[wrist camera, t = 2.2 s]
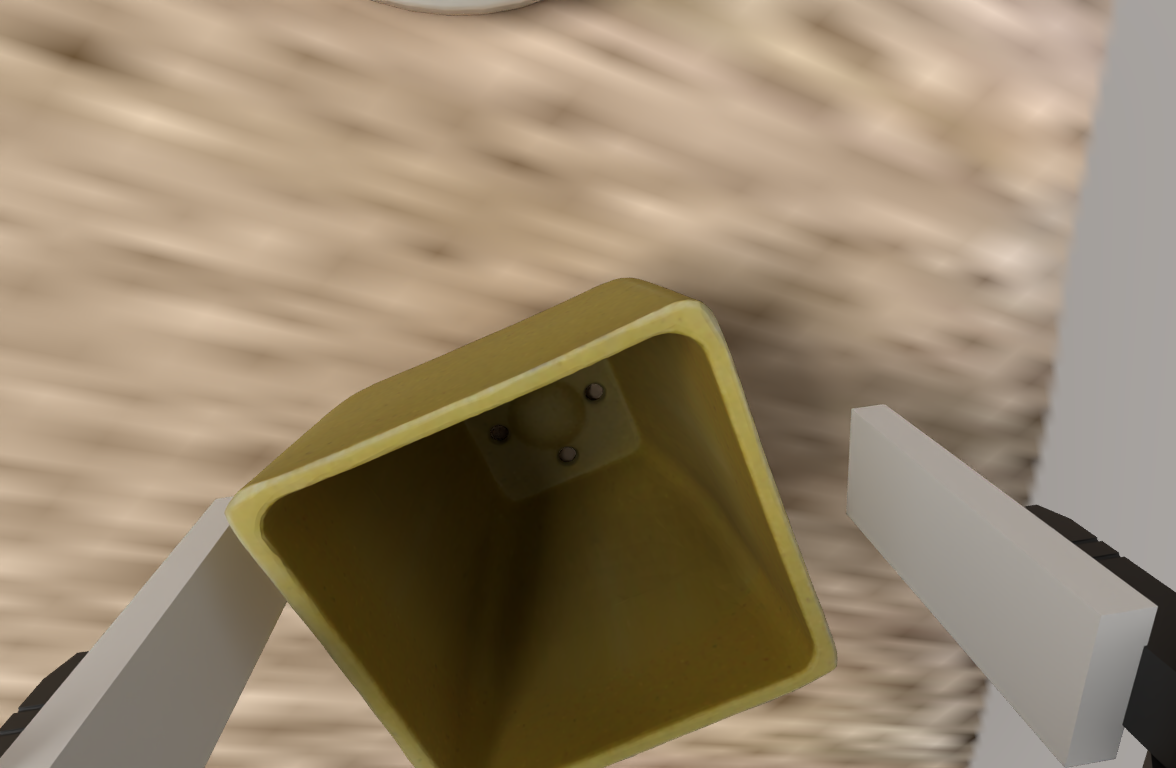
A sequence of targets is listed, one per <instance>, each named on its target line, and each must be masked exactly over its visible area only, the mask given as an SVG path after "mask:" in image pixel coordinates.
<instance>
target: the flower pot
mask: <svg viewBox="0 0 1176 768" xmlns="http://www.w3.org/2000/svg"><path fill="white" fill-rule="evenodd" d="M591 384H598V385H600V386H601V387H602V389H603V394H602V396H601V397H600V398H599V399H597V400H595V401H594V400H590V399H588V398H587V397H586V395H585V390H586V388H587V387H588V386H589V385H591ZM496 425H502V426H504V427H506V428H507V429H508V432H509V433H508V436H507V437H506V438H505V439H504V440H495V439H494V438H492V436H491V434H490V430H491V429H492V427H494V426H496ZM565 447H571V448H573V449H574V450H575V451H576V456H575V458H574V459H573V460H572V461H570V462H564V461H562V460H560V458H559V452H560V451H561V449H563V448H565ZM224 514H225V516H226V519H227V521H228V523H229V525H230V526H231V528H232V530H233V531H234V533H235V534H236V536H237V537H238V539H239V540H240V542H241V543H242V544H243V546H244V547H245V548H246V549H247V550H248V552H249V553H250V554H251V556H252V557H253V558H254V560H255V561H256V562H257V563H258V565H259V566H260V567H261V568H262V569H263V571H264V572H265V573H266V574H267V576H268V577H269V578H270V579H271V581H272V582H273V583H274V585H275V586H276V587H277V588H278V590H279V591H280V592H281V594H282V595H283V596H284V598H285V599H286V601H287V602H288V603H289V604H290V606H291V607H292V608H293V609H294V611H295V612H296V613H297V614H298V615H299V617H300V618H301V619H302V620H303V621H304V623H305V624H306V625H307V626H308V627H309V629H310V630H311V631H312V632H313V634H314V635H315V636H316V637H317V639H318V640H319V641H320V642H321V644H322V645H323V646H324V648H325V649H326V650H327V652H328V653H329V654H330V656H331V657H332V659H333V660H334V661H335V663H336V664H337V665H338V667H339V668H340V669H341V670H342V672H343V673H344V674H345V676H346V677H347V678H348V679H349V681H350V682H351V683H352V684H353V686H354V687H355V688H356V689H357V691H358V692H359V693H360V694H361V696H362V697H363V699H364V700H365V701H366V703H367V704H368V706H369V707H370V708H371V710H372V711H373V712H374V714H375V715H376V716H377V717H378V719H379V720H380V721H381V722H382V724H383V725H384V726H385V727H386V729H387V730H388V731H389V733H390V734H391V735H392V736H393V738H394V739H395V741H396V742H397V743H398V745H399V746H400V748H401V749H402V751H403V752H404V754H405V755H406V757H407V758H408V759H409V761H410V762H411V763H412V764H413V766H414V767H415V768H604V767H606V766H609V765H611V764H614V763H616V762H619V761H622V760H624V759H627V758H630V757H633V756H635V755H637V754H639V753H641V752H644V751H647V750H649V749H652V748H654V747H656V746H659V745H661V744H663V743H666V742H668V741H670V740H673V739H675V738H678V737H681V736H683V735H686V734H688V733H691V732H693V731H696V730H698V729H701V728H703V727H706V726H708V725H711V724H713V723H715V722H718V721H720V720H722V719H725V718H727V717H730V716H732V715H735V714H738V713H740V712H743V711H745V710H748V709H751V708H754V707H757V706H759V705H762V704H764V703H767V702H769V701H772V700H774V699H776V698H779V697H781V696H783V695H786V694H788V693H791V692H793V691H795V690H797V689H799V688H801V687H803V686H805V685H807V684H809V683H811V682H813V681H814V680H816V679H818V678H820V677H822V676H824V675H826V674H827V673H829V672H831V671H832V670H834V669H835V668H836V666H837V651H836V647H835V643H834V640H833V637H832V635H831V632H830V630H829V627H828V624H827V621H826V618H825V615H824V613H823V610H822V607H821V605H820V602H819V600H818V597H817V595H816V592H815V590H814V587H813V585H812V582H811V580H810V577H809V574H808V571H807V568H806V566H805V563H804V560H803V557H802V555H801V552H800V550H799V547H798V544H797V542H796V539H795V536H794V534H793V531H792V528H791V525H790V522H789V519H788V516H787V514H786V512H785V509H784V506H783V503H782V500H781V497H780V495H779V492H778V489H777V486H776V483H775V481H774V478H773V475H772V472H771V469H770V467H769V464H768V461H767V458H766V455H765V453H764V450H763V447H762V444H761V442H760V439H759V435H758V432H757V429H756V426H755V423H754V420H753V417H752V415H751V412H750V408H749V404H748V402H747V399H746V396H745V394H744V391H743V388H742V385H741V382H740V379H739V376H738V373H737V370H736V367H735V364H734V361H733V358H732V356H731V353H730V350H729V348H728V345H727V343H726V340H725V338H724V336H723V333H722V331H721V329H720V326H719V324H718V322H717V319H716V318H715V316H714V315H713V313H712V311H711V310H710V309H709V308H708V307H707V306H706V305H705V304H704V303H702V302H701V301H698V300H695V299H692V298H690V297H687V296H684V295H682V294H679V293H677V292H674V291H672V290H669V289H666V288H664V287H661V286H658V285H656V284H653V283H650V282H647V281H644V280H640V279H635V278H620V279H616V280H612V281H610V282H607V283H604V284H602V285H599V286H597V287H595V288H592V289H590V290H588V291H586V292H584V293H582V294H580V295H578V296H576V297H574V298H571V299H569V300H567V301H565V302H563V303H561V304H558V305H556V306H554V307H552V308H550V309H547V310H545V311H543V312H541V313H538V314H536V315H534V316H532V317H530V318H527V319H525V320H523V321H521V322H518V323H516V324H514V325H512V326H509V327H507V328H505V329H502V330H500V331H498V332H495V333H493V334H491V335H488V336H486V337H484V338H482V339H479V340H477V341H475V342H472V343H470V344H468V345H465V346H463V347H461V348H458V349H456V350H454V351H452V352H449V353H447V354H445V355H442V356H440V357H438V358H435V359H433V360H431V361H428V362H426V363H424V364H421V365H419V366H417V367H414V368H412V369H409V370H407V371H404V372H402V373H399V374H397V375H395V376H392V377H390V378H388V379H385V380H383V381H380V382H378V383H376V384H374V385H372V386H370V387H368V388H366V389H364V390H362V391H360V392H358V393H356V394H354V395H352V396H351V397H349V398H348V399H346V400H345V401H343V402H342V403H341V404H339V405H338V406H337V407H336V408H334V409H333V410H332V411H331V412H329V413H328V414H327V415H326V416H325V417H323V418H322V419H321V420H320V421H319V422H318V423H317V424H315V425H314V426H313V427H312V428H311V429H310V430H308V431H307V432H306V433H305V434H304V435H303V436H302V437H300V438H299V439H298V440H297V441H296V442H295V443H293V444H292V445H291V446H290V447H289V448H288V449H287V450H285V451H284V452H283V453H282V454H281V455H280V456H279V457H277V458H276V459H275V460H274V461H273V462H272V463H271V464H270V465H268V466H267V467H266V468H265V469H264V470H263V471H262V472H260V473H259V474H258V475H257V476H256V477H255V478H253V479H252V480H251V481H250V482H249V483H248V484H246V485H245V486H244V487H243V488H242V489H241V490H239V491H238V492H237V493H236V495H235V496H234V497H233V498H232V499H231V500H230V502H229V504H228V505H227V507H226V509H225V513H224Z"/></svg>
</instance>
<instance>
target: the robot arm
mask: <svg viewBox="0 0 1176 768" xmlns="http://www.w3.org/2000/svg"><path fill="white" fill-rule="evenodd" d="M233 497H234V496H233ZM233 497H226V498H219V499H215V501H214V502H213V503H212V504H211V505H210V507H209V508H208V509H207V510H206V511H205V513H204V514H203V515H202V516H201V517H200V519H199V520H198V521H197V522H196V523H195V525H194V526H193V527H192V528H191V529H190V531H189V532H188V533H187V534H186V535H185V537H184V538H183V539H182V540H181V541H180V543H179V544H178V545H177V546H176V547H175V549H174V550H173V551H172V552H171V553H170V555H169V556H168V557H167V558H166V559H165V561H164V562H163V563H162V564H161V565H160V567H159V568H158V569H157V570H156V571H155V573H154V574H153V575H152V576H151V578H150V579H149V580H148V581H147V582H146V584H145V585H144V586H143V587H142V588H141V590H140V591H139V592H138V593H137V594H136V596H135V597H134V598H133V599H132V600H131V602H130V603H129V604H128V605H127V606H126V608H125V609H124V610H123V611H122V612H121V614H120V615H119V616H118V617H117V618H116V620H115V621H114V622H113V623H112V624H111V626H110V627H109V628H108V629H107V630H106V632H105V633H104V634H103V635H102V636H101V638H100V639H99V640H98V641H97V642H96V644H95V645H94V646H93V647H92V648H91V650H90V651H87V652H80V653H77V654H75V655H74V656H73V657H71V658H70V659H69V660H68V661H66V662H65V663H64V664H62V665H61V666H60V667H59V668H57V669H56V670H55V671H53V672H52V673H51V674H49V675H48V676H47V677H46V678H44V679H43V680H42V681H41V682H40V684H39V685H38V686H37V687H36V688H35V689H34V690H33V692H32V693H31V694H30V695H29V696H28V697H27V698H26V700H25V701H24V702H23V703H22V704H21V705H20V706H19V708H18V709H19V711H18V713H14V714H13V715H12V716H11V717H10V718H9V719H8V720H7V721H6V723H5V724H4V725H3V726H2V727H1V728H0V768H204V767H205V765H206V763H207V761H208V759H209V757H210V755H211V753H212V751H213V749H214V747H215V745H216V743H217V741H218V739H219V737H220V735H221V733H222V731H223V729H224V727H225V725H226V723H227V721H228V719H229V717H230V715H231V713H232V711H233V709H234V707H235V705H236V703H237V701H238V699H239V697H240V695H241V693H242V691H243V689H244V687H245V685H246V683H247V681H248V679H249V677H250V675H251V673H252V671H253V669H254V667H255V665H256V663H257V661H258V659H259V657H260V655H261V653H262V651H263V649H264V647H265V645H266V643H267V641H268V639H269V637H270V635H271V633H272V631H273V629H274V627H275V625H276V623H277V621H278V619H279V617H280V615H281V613H282V610H283V608H284V606H285V604H286V602H287V601H286V599H285V598H284V596H283V595H282V594H281V592H280V591H279V590H278V588H277V587H276V586H275V585H274V583H273V582H272V581H271V579H270V578H269V577H268V576H267V574H266V573H265V572H264V571H263V569H262V568H261V567H260V566H259V565H258V563H257V562H256V561H255V560H254V558H253V557H252V556H251V554H250V553H249V552H248V550H247V549H246V548H245V547H244V546H243V544H242V543H241V542H240V540H239V539H238V537H237V536H236V534H235V533H234V531H233V530H232V528H231V526H230V525H229V523H228V521H227V519H226V516H225V514H224V513H225V509H226V507H227V505H228V504H229V502H230V500H231V499H232V498H233ZM846 514H847V515H848V516H849V517H850V519H851V520H852V521H853V522H854V523H855V524H856V526H857V527H858V528H859V529H860V530H861V531H862V533H863V534H864V535H865V536H866V537H867V538H868V540H869V541H870V542H871V543H872V544H873V545H874V547H875V548H876V549H877V550H878V551H879V552H880V553H881V555H882V556H883V557H884V558H885V559H886V560H887V562H888V563H889V564H890V565H891V566H892V567H893V569H894V570H895V571H896V572H897V573H898V574H899V576H900V577H901V578H902V579H903V580H904V581H905V583H906V584H907V585H908V586H909V587H910V588H911V590H912V591H913V592H914V593H915V594H916V595H917V597H918V598H919V599H920V600H921V601H922V602H923V603H924V605H925V606H926V607H927V608H928V609H929V610H930V612H931V613H932V614H933V615H934V616H935V617H936V619H937V620H938V621H939V622H940V623H941V624H942V626H943V627H944V628H945V629H946V630H947V631H948V633H949V634H950V635H951V636H952V637H953V638H954V640H955V641H956V642H957V643H958V644H959V645H960V647H961V648H962V649H963V650H964V651H965V652H966V653H967V655H968V656H969V657H970V658H971V659H972V660H973V662H974V663H975V664H976V665H977V666H978V667H979V669H980V670H981V671H982V672H983V673H984V674H985V676H986V677H987V678H988V679H989V680H990V681H991V683H992V684H993V685H994V686H995V687H996V688H997V690H998V691H999V692H1000V693H1001V694H1002V695H1003V697H1004V698H1005V699H1006V700H1007V701H1008V702H1009V703H1010V705H1011V706H1012V707H1013V708H1014V709H1015V710H1016V712H1017V713H1018V714H1019V715H1020V716H1021V717H1022V719H1023V720H1024V721H1025V722H1026V723H1027V724H1028V726H1029V727H1030V728H1031V729H1032V730H1033V731H1034V733H1036V735H1037V736H1038V737H1039V738H1040V740H1041V741H1042V742H1043V743H1044V744H1045V745H1046V746H1047V748H1048V749H1049V750H1050V751H1051V752H1052V753H1053V755H1054V756H1055V757H1056V758H1057V759H1058V760H1059V762H1060V763H1061V764H1062V765H1063V766H1064V767H1065V768H1067V767H1071V766H1078V765H1083V764H1089V763H1095V762H1101V761H1106V760H1112V759H1115V758H1116V755H1117V752H1118V748H1119V744H1120V740H1121V737H1122V734H1123V730H1124V727H1125V728H1126V729H1127V730H1128V731H1129V732H1130V733H1131V734H1132V735H1133V736H1134V737H1135V738H1136V739H1137V740H1138V741H1139V742H1140V743H1141V744H1142V745H1143V746H1144V747H1145V748H1146V749H1147V750H1148V751H1147V755H1146V758H1145V761H1144V764H1143V768H1176V592H1174V591H1173V590H1171V589H1170V588H1169V587H1167V586H1166V585H1164V584H1163V583H1161V582H1160V581H1159V580H1157V579H1155V578H1154V577H1153V576H1151V575H1150V574H1149V573H1147V572H1146V571H1144V570H1143V569H1141V568H1140V567H1138V566H1137V565H1136V564H1134V563H1133V562H1131V561H1130V560H1129V559H1127V558H1126V557H1120V556H1119V552H1117V551H1116V550H1114V549H1113V548H1111V547H1110V546H1108V545H1107V544H1106V543H1104V542H1103V541H1100V542H1099V541H1098V540H1097V537H1096V536H1094V535H1093V534H1091V533H1090V532H1088V531H1087V530H1086V529H1084V528H1083V527H1081V526H1080V525H1078V524H1077V523H1076V522H1074V521H1073V520H1071V519H1069V518H1067V517H1065V516H1062V515H1060V514H1058V513H1055V512H1053V511H1050V510H1048V509H1046V508H1043V507H1041V506H1039V505H1032V506H1025V507H1023V506H1022V505H1020V504H1019V503H1018V502H1016V501H1015V500H1014V499H1012V498H1011V497H1010V496H1008V495H1007V494H1005V493H1004V492H1003V491H1001V490H1000V489H999V488H997V487H996V486H995V485H993V484H992V483H991V482H989V481H988V480H987V479H985V478H984V477H982V476H981V475H980V474H978V473H977V472H976V471H974V470H973V469H972V468H970V467H969V466H968V465H966V464H965V463H964V462H962V461H961V460H960V459H958V458H957V457H955V456H954V455H953V454H951V453H950V452H949V451H947V450H946V449H945V448H943V447H942V446H941V445H939V444H938V443H937V442H935V441H934V440H933V439H931V438H930V437H928V436H927V435H926V434H924V433H923V432H922V431H920V430H919V429H918V428H916V427H915V426H914V425H912V424H911V423H910V422H908V421H907V420H906V419H904V418H903V417H901V416H900V415H899V414H897V413H896V412H895V411H893V410H892V409H891V408H889V407H888V406H887V405H885V404H881V405H874V406H867V407H860V408H853V409H851V428H850V448H849V468H848V488H847V508H846Z"/></svg>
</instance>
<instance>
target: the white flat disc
mask: <svg viewBox="0 0 1176 768" xmlns="http://www.w3.org/2000/svg"><path fill="white" fill-rule="evenodd" d="M371 1H375V2H379V3H382V4H386V5H390V6H394V7H398V8H401V9H405V10H409V11H416V12H424V13H433V14H441V15H475V14H489V13H494V12H500V11H505V10H511V9H517V8H521V7H524V6H527V5H530V4H533V3H536V2H539V1H542V0H371Z"/></svg>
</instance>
